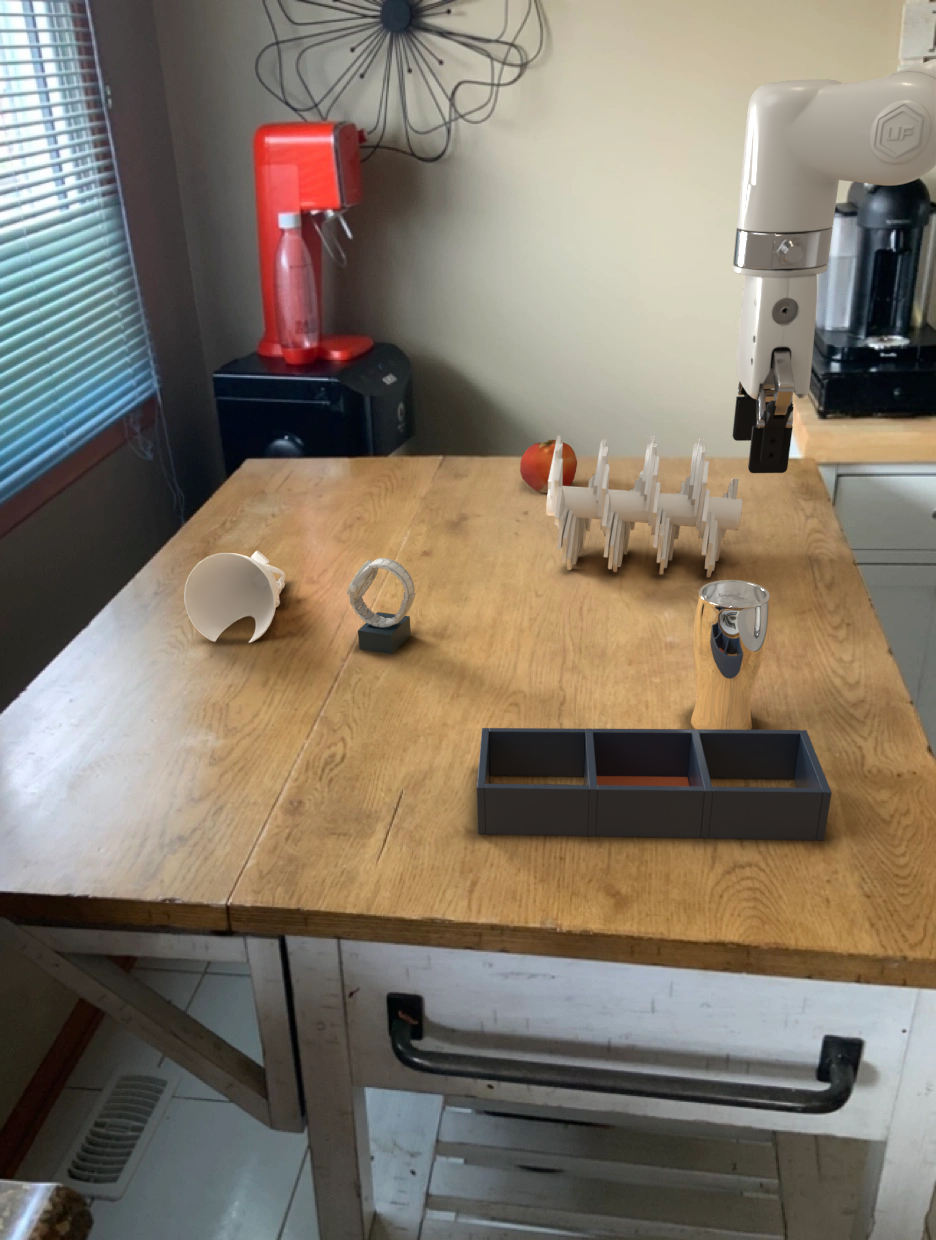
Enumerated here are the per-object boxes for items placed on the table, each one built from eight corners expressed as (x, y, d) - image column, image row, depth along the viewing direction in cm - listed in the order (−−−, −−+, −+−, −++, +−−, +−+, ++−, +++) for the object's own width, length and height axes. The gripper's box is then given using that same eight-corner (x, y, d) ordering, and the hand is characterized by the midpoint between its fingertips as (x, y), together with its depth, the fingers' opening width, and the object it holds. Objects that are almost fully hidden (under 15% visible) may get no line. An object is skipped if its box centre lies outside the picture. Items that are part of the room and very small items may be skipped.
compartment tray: (799, 780, 106) (806, 729, 104) (823, 846, 97) (832, 792, 95) (482, 777, 110) (481, 727, 107) (477, 839, 101) (476, 787, 98)
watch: (364, 632, 140) (358, 549, 135) (424, 641, 137) (420, 556, 132) (344, 652, 136) (337, 566, 130) (405, 661, 133) (400, 574, 127)
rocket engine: (263, 514, 152) (220, 532, 135) (328, 570, 152) (293, 596, 135) (214, 577, 156) (166, 603, 139) (278, 632, 156) (238, 665, 139)
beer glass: (727, 705, 119) (741, 573, 112) (770, 735, 114) (787, 598, 106) (672, 721, 117) (682, 587, 110) (713, 752, 112) (726, 613, 104)
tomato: (581, 496, 180) (582, 447, 176) (523, 500, 180) (523, 450, 176) (572, 478, 188) (573, 431, 184) (517, 482, 188) (516, 434, 184)
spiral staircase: (727, 612, 149) (538, 594, 154) (734, 516, 158) (556, 502, 163) (747, 513, 134) (537, 497, 139) (753, 413, 143) (557, 402, 149)
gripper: (852, 266, 85) (821, 485, 94) (807, 236, 100) (784, 428, 109) (750, 269, 86) (728, 486, 95) (721, 239, 101) (704, 429, 109)
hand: (758, 455), depth 102 cm, fingers open, 9 cm apart
